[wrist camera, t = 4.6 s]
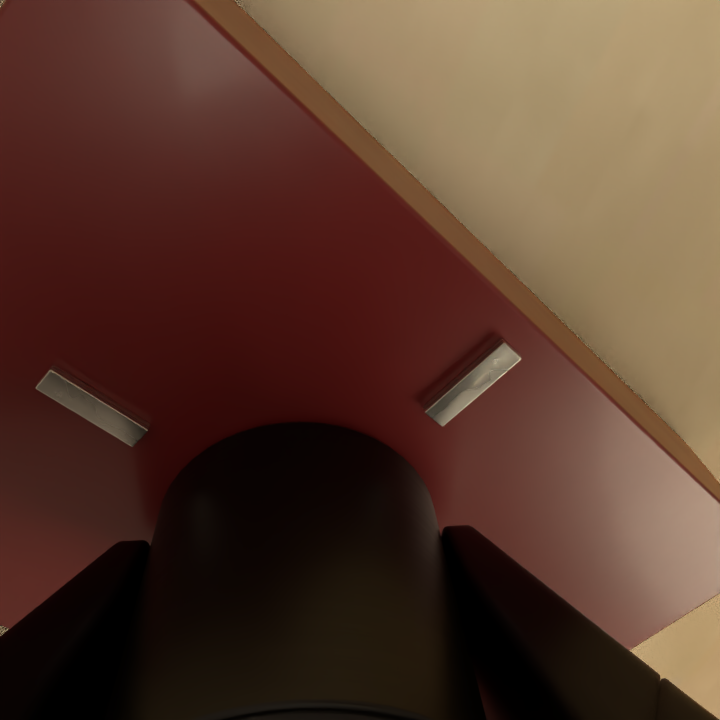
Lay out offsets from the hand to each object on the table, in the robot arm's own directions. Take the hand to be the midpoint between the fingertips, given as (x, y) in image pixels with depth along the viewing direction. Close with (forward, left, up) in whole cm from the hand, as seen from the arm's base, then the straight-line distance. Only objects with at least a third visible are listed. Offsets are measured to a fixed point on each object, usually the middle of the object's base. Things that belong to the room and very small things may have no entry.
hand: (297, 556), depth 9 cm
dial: (0, 0, 0) cm, 0 cm away
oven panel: (0, 0, -4) cm, 4 cm away
